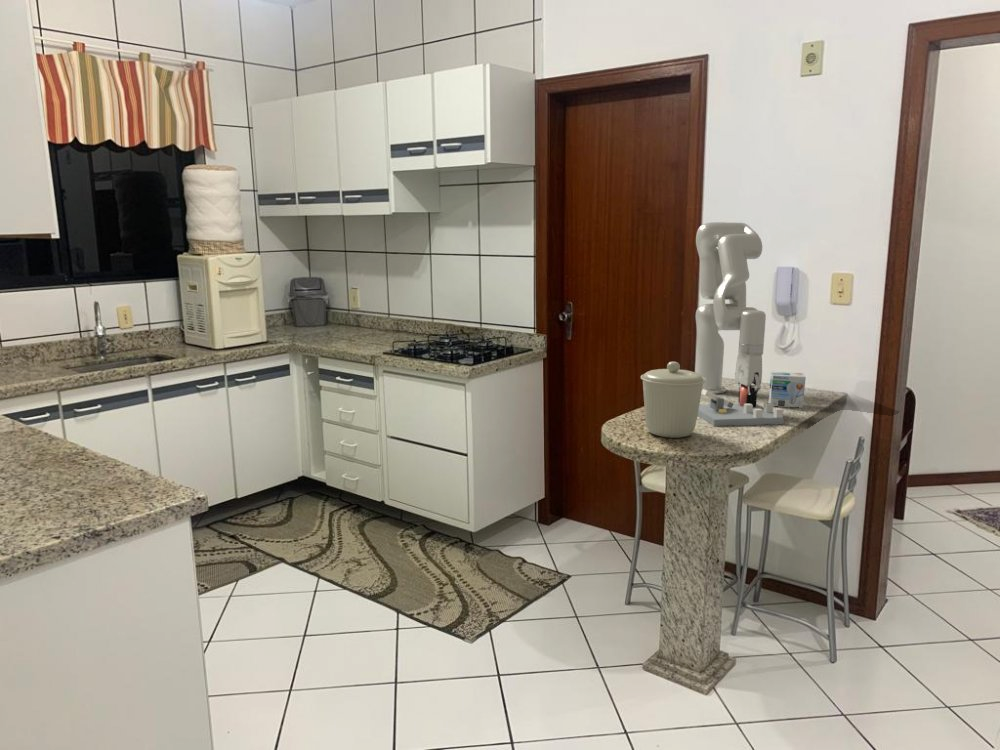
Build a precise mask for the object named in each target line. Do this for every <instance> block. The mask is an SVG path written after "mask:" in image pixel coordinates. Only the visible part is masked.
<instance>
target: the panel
mask: <svg viewBox="0 0 1000 750" xmlns="http://www.w3.org/2000/svg"><path fill="white" fill-rule="evenodd" d="M716 395H717V396H719V395H718V394H716ZM724 399H725V398H723V397H721V398H717V401H715V400H713V399H711V398H710V399H709V400H710V401H709V404H699V410H698V416H697V417H699V418H700V419H702V418H703V419H702V420H703V421H705V420H706V421H705V422H707V423H708V422H709V423H708V424H709V425H711V424H712V425H711V426H713V425H714V426H713V427H725V426H726V427H727V425H729V426H730V425H734V426H759V425H760V426H763V424H768V425H784V419H785V418H784V409H783V408H782V407H774V406H773V404H771V403H769V402H765V403H763V406H761V405H759V404H757V403H756V407H753V405H752V404H744V407H743V406H740V405H739V403H733V406H732V408H730V407H727V406H726V405H724ZM730 427H731V426H730Z"/></svg>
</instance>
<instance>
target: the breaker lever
mask: <svg viewBox="0 0 1000 750" xmlns="http://www.w3.org/2000/svg"><path fill="white" fill-rule="evenodd" d="M701 395H703V396H705V397H707V398H709V399H710V400H711V399H713V400H715V401H717V398H722V397H721V396H719V395H718V394H713V393H711V392H709V391H707V390H705V389H703V390H702V393H701ZM717 395H718V396H717ZM723 399H724V405H726V406H727V407H730V408H732V406H733V404H734V403H733V402H731V401H730V400H728V399H725V398H723Z"/></svg>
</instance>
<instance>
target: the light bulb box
mask: <svg viewBox="0 0 1000 750" xmlns="http://www.w3.org/2000/svg"><path fill="white" fill-rule="evenodd" d="M806 378H807V377H806V376H805V374H804V373H802V372H786V371H785V372H784V371H783V372H781V371H770V379H769V389H768V390H769V392H768V402H767V403H771V404H773V407H775V406H778V407H777V408H790V407H799V408H798V409H804V408H803V407H804V400H805V387H806V386H805V385H806Z"/></svg>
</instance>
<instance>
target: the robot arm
mask: <svg viewBox="0 0 1000 750" xmlns="http://www.w3.org/2000/svg"><path fill="white" fill-rule="evenodd" d="M695 246H696V249H697V253H698V257H699V287H700V288H699V291H700V296H701V298H703V299H704V300H711V301H713V302H712V303H705V304H702V305H700V306H698V307H697V309H696V311H695V324H696V349H695V350H696V355H695V369H694V372H695V373H698V374H700V375H701V376H702V377H704V378H705V379H706V381H705V382H704V383H703V386H702V390H703V389H705V390H707V391H709V392H711V393H713V394H715V395H718V394H723V393H725V392H726V391H727V388H726V387H725V386H723V384H722V383H723V368H724V366H723V365H724V353H725V342H724V339H723V337H722V336H721V334H720V333H719V331H739V338H738V339H739V340H738V354H737V358H736V363H735V371H734V372H735V374H734V381H736V382H737V383H738V401H737V402H738V403H739V402H740V387H741V386H748V395H747V397H746V404H752V405H753V407H756V404H757V400H758V399H757V398H758V394H759V393H758V392H759V390H760V389H761V384H762V379H763V378H762V377H763V356H762V355H764V346H765V333H766V332H765V331H766V319H767V318H766V317H767V316H766V312H764V310H763V311H762V310H758V309H757V308H756V307H752V306H751V307H750V306H749V307H747V281H748V280H749V279H750V273H749V272H750V271H749V266H748V261H747V260H756V259H758V258H760V257H761V255H762V253H763V242H762V239H761V237H760V236H759V234H758V233H757V232H756V231H755V230H754V229H753V228H752V227H751V226H749V224H747V223H745V222H725V221H724V222H721V221H720V222H707V223H706V222H705V223H703V224H702V225H700V226H699V227H698V229H697V231H696V236H695ZM726 300H728V303H726ZM751 387H754V388H752V389H751Z"/></svg>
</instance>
